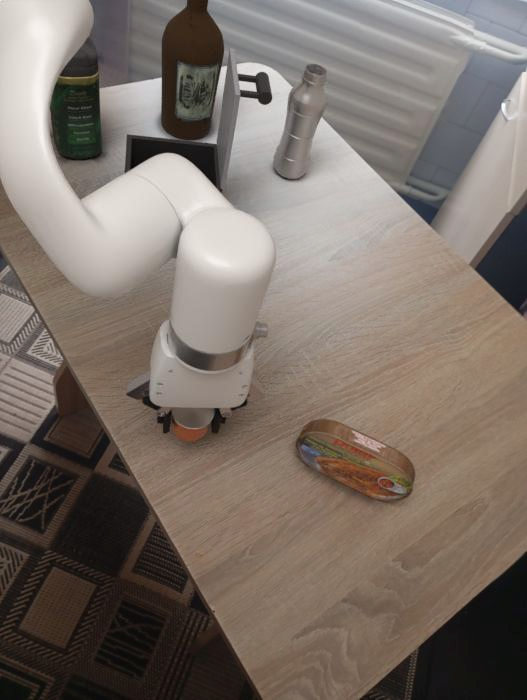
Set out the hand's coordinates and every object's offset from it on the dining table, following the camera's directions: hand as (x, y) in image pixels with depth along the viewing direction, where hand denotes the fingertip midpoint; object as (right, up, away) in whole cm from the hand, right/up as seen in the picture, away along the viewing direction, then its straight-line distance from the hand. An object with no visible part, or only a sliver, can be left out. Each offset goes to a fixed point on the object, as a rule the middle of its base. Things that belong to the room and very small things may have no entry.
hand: (190, 421), depth 66 cm
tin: (+19, -8, +7) cm, 22 cm away
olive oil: (-6, +51, +43) cm, 67 cm away
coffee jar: (-24, +45, +34) cm, 61 cm away
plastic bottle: (+13, +42, +41) cm, 60 cm away
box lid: (+3, +42, +17) cm, 45 cm away
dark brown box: (-7, +33, +29) cm, 44 cm away
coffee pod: (0, 0, +1) cm, 1 cm away
